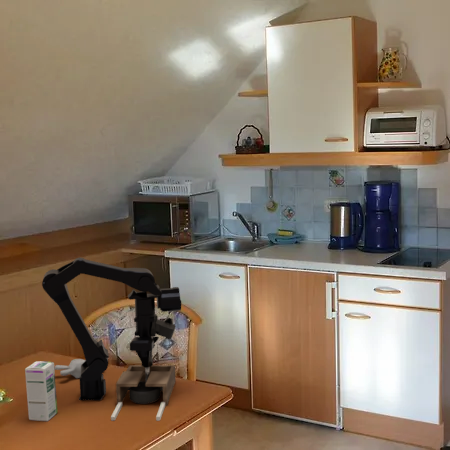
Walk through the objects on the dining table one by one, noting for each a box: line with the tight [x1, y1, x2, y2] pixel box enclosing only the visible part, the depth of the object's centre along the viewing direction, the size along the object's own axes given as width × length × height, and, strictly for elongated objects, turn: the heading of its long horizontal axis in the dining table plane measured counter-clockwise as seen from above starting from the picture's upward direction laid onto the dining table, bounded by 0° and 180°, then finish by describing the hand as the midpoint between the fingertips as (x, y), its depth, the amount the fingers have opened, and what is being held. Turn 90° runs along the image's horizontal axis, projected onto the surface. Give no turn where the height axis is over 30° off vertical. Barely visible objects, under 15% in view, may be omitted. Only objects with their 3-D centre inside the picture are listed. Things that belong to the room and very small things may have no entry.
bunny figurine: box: [54, 358, 86, 379], centre depth 215 cm, size 10×5×15 cm
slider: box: [129, 351, 163, 392], centre depth 200 cm, size 11×3×11 cm, turn 87°
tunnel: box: [115, 364, 176, 407], centre depth 199 cm, size 14×19×6 cm
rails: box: [110, 401, 166, 422], centre depth 185 cm, size 13×10×1 cm
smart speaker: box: [128, 381, 162, 405], centre depth 195 cm, size 9×9×4 cm
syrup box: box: [24, 360, 59, 422], centre depth 183 cm, size 6×6×14 cm
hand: (147, 365), depth 200 cm, fingers closed on slider, 3 cm apart
